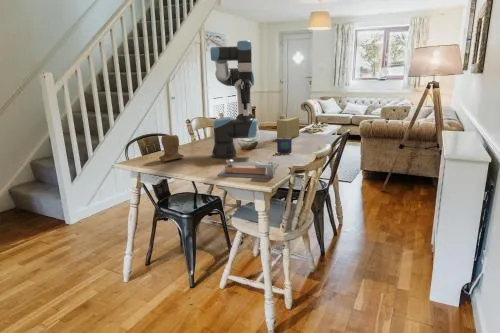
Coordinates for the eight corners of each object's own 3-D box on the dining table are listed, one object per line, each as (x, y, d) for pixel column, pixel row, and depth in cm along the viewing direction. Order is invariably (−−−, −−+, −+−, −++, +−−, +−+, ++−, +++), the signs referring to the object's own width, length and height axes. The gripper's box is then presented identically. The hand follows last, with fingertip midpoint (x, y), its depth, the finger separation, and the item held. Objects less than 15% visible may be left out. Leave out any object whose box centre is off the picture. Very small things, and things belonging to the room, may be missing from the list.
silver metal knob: (224, 166, 172) (224, 161, 171) (227, 164, 176) (227, 159, 175) (232, 166, 171) (232, 161, 170) (234, 164, 175) (234, 159, 174)
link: (223, 172, 172) (223, 167, 171) (226, 170, 177) (226, 164, 176) (264, 174, 168) (264, 168, 167) (266, 171, 173) (266, 166, 172)
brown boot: (174, 155, 216) (173, 132, 212) (186, 158, 208) (185, 134, 204) (154, 160, 205) (151, 135, 201) (165, 163, 197) (163, 137, 193)
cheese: (293, 134, 278) (293, 116, 274) (303, 136, 272) (303, 117, 268) (276, 139, 263) (276, 119, 259) (286, 140, 256) (286, 120, 252)
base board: (217, 175, 171) (217, 174, 171) (233, 162, 195) (233, 161, 195) (268, 178, 164) (268, 177, 164) (278, 164, 189) (278, 163, 188)
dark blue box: (291, 151, 220) (291, 135, 217) (292, 152, 217) (292, 135, 214) (276, 152, 219) (276, 135, 216) (277, 153, 216) (277, 136, 213)
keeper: (255, 177, 167) (254, 164, 165) (258, 172, 175) (258, 160, 173) (272, 178, 165) (272, 165, 163) (275, 173, 172) (275, 161, 171)
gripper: (242, 71, 191) (243, 114, 197) (234, 71, 179) (235, 116, 185) (255, 71, 189) (255, 114, 195) (247, 71, 177) (249, 117, 183)
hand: (246, 115), depth 190 cm, fingers closed
